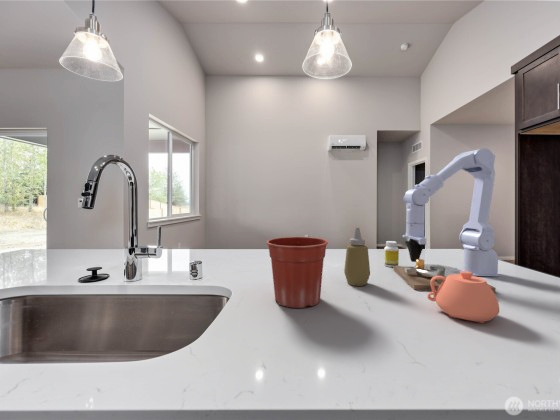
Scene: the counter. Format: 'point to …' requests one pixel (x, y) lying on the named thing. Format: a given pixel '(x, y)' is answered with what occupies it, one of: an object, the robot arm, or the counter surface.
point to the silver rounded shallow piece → (431, 269)
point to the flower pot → (297, 270)
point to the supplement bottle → (391, 254)
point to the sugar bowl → (465, 297)
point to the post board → (422, 279)
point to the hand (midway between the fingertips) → (414, 261)
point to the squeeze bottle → (357, 261)
